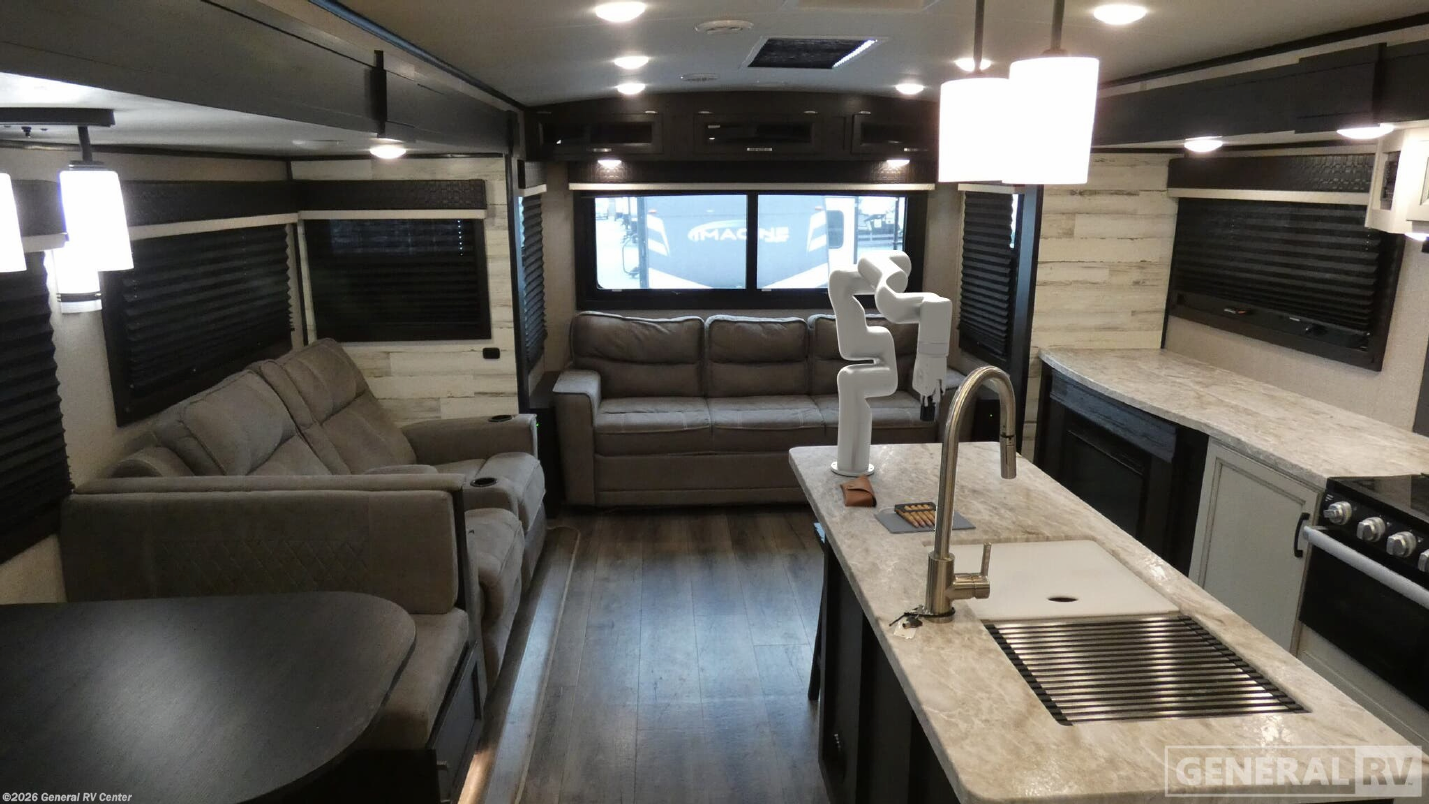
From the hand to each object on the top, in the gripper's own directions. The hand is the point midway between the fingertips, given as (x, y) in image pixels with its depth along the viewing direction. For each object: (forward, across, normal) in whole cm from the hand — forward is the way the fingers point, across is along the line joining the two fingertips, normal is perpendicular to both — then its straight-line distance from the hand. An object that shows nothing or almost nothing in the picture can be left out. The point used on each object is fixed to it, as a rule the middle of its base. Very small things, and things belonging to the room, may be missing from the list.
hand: (926, 420), depth 223 cm
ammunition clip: (+24, -2, -1) cm, 24 cm away
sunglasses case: (+26, -16, -11) cm, 32 cm away
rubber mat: (+25, +5, -1) cm, 26 cm away
